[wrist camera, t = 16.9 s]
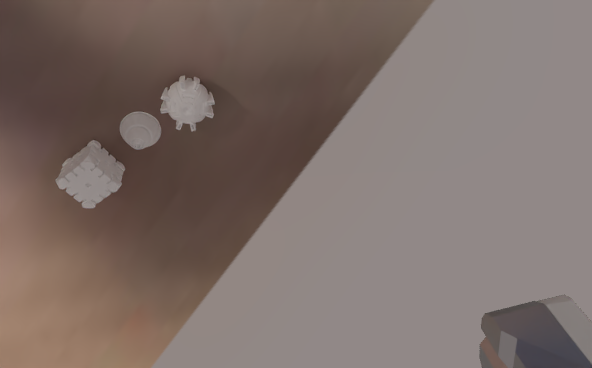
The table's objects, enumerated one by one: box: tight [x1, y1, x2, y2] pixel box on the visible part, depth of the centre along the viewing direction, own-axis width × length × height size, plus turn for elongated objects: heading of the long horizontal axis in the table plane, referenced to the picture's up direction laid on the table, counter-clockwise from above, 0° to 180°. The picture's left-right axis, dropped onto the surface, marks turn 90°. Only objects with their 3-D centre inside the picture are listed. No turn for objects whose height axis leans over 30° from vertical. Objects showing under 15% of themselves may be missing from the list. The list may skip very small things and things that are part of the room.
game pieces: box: [55, 75, 215, 208], centre depth 36 cm, size 12×3×3 cm, turn 125°
